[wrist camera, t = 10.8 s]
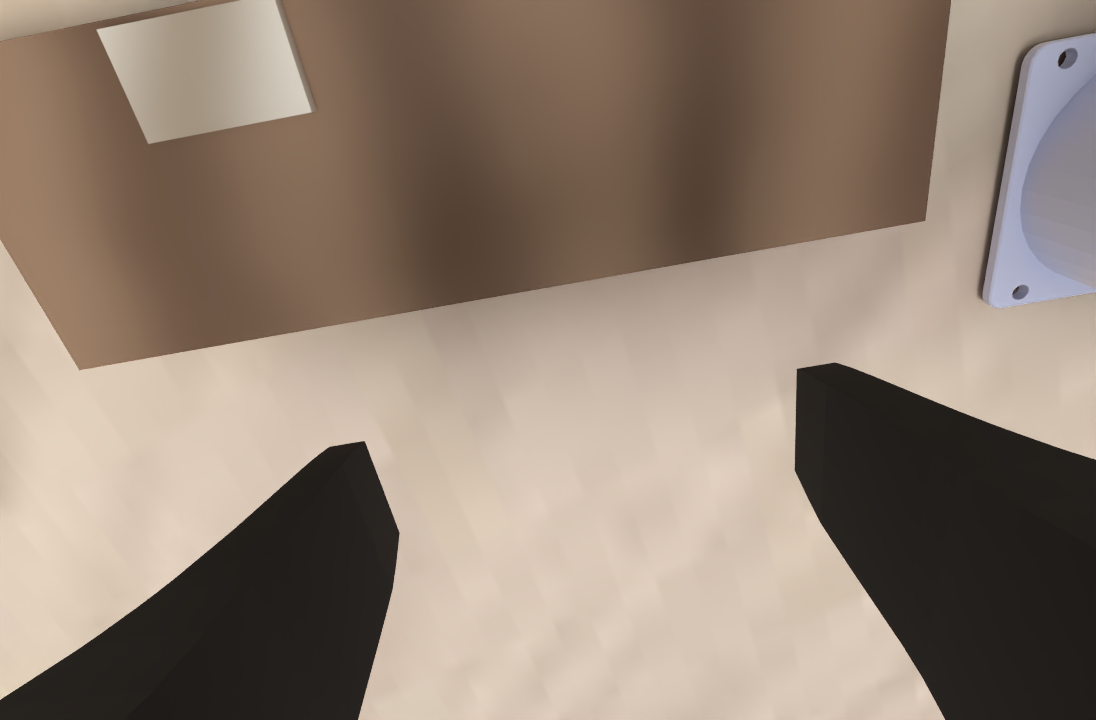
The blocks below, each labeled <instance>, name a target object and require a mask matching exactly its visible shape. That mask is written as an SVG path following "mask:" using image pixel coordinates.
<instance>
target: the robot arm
mask: <svg viewBox="0 0 1096 720" xmlns="http://www.w3.org/2000/svg"><path fill="white" fill-rule="evenodd" d="M1064 50H1065V52H1066V58H1065V60H1064V63H1063V64H1062V65H1061V66H1060V67H1059V66H1058V59H1059V57H1060V55H1061V54H1062V53H1063V51H1064ZM1018 286H1020V288H1019V290H1018V291H1017V292H1016V293H1015V294H1013V295H1012V293H1013V291H1014V289H1016V288H1017V287H1018ZM1095 292H1096V33H1090V34H1085V35H1080V36H1075V37H1069V38H1064V39H1059V40H1053V41H1048V42H1043V43H1040V44H1038V45H1036V46H1034V47H1033V48H1032V49H1031V50H1029V52H1028V53H1027V55H1026V56H1025V57H1024V60H1023V63H1022V66H1021V72H1020V78H1019V84H1018V90H1017V96H1016V101H1015V107H1014V113H1013V119H1012V125H1011V131H1010V136H1009V142H1008V148H1007V154H1006V160H1005V166H1004V171H1003V177H1002V183H1001V189H1000V195H999V200H998V206H997V212H996V218H995V224H994V230H993V235H992V241H991V247H990V253H989V259H988V265H987V270H986V276H985V282H984V288H983V294H982V295H983V300H984V302H985V303H986V304H988V305H990V306H992V307H994V308H1006V307H1012V306H1018V305H1024V304H1030V303H1036V302H1042V301H1048V300H1053V299H1059V298H1065V297H1071V296H1077V295H1083V294H1089V293H1095ZM795 472H796V474H797V476H798V478H799V480H800V482H801V484H802V486H803V488H804V491H805V493H806V495H807V497H808V499H809V501H810V503H811V505H812V507H813V509H814V511H815V513H816V515H817V517H818V519H819V521H820V523H821V524H822V526H823V527H824V529H825V530H826V532H827V533H828V535H829V537H830V538H831V540H832V541H833V543H834V544H835V546H836V547H837V549H838V550H839V552H840V553H841V555H842V556H843V558H844V559H845V561H846V562H847V564H848V565H849V567H850V568H851V570H852V571H853V573H854V574H855V576H856V577H857V579H858V580H859V581H860V583H861V584H862V586H863V587H864V589H865V590H866V592H867V593H868V595H869V596H870V598H871V599H872V601H873V602H874V604H875V605H876V607H877V608H878V610H879V611H880V613H881V614H882V616H883V617H884V619H885V620H886V621H887V623H888V624H889V626H890V627H891V629H892V630H893V632H894V633H895V635H896V636H897V638H898V639H899V641H900V642H901V644H902V645H903V647H904V648H905V650H906V652H907V653H908V655H909V656H910V658H911V660H912V661H913V663H914V665H915V666H916V668H917V669H918V671H919V673H920V674H921V676H922V678H923V679H924V681H925V683H926V685H927V687H928V688H929V690H930V692H931V694H932V696H933V698H934V700H935V701H936V703H937V705H938V707H939V709H940V711H941V712H942V714H943V716H944V718H945V720H1096V460H1095V459H1091V458H1088V457H1085V456H1082V455H1079V454H1076V453H1072V452H1069V451H1066V450H1063V449H1060V448H1057V447H1054V446H1051V445H1048V444H1046V443H1043V442H1040V441H1037V440H1034V439H1032V438H1029V437H1026V436H1023V435H1020V434H1017V433H1015V432H1012V431H1009V430H1006V429H1003V428H1001V427H998V426H995V425H993V424H990V423H987V422H985V421H982V420H980V419H977V418H974V417H972V416H969V415H967V414H964V413H962V412H959V411H957V410H954V409H952V408H949V407H947V406H944V405H942V404H939V403H937V402H934V401H932V400H929V399H927V398H925V397H922V396H920V395H917V394H915V393H912V392H910V391H908V390H905V389H903V388H900V387H898V386H896V385H893V384H891V383H888V382H886V381H884V380H881V379H879V378H876V377H874V376H871V375H869V374H866V373H864V372H861V371H858V370H856V369H853V368H850V367H848V366H844V365H841V364H838V363H830V364H824V365H818V366H812V367H806V368H800V369H797V391H796V438H795ZM398 542H399V530H398V528H397V525H396V523H395V520H394V517H393V515H392V512H391V509H390V507H389V504H388V501H387V499H386V496H385V494H384V491H383V488H382V486H381V483H380V480H379V478H378V475H377V472H376V470H375V467H374V465H373V462H372V459H371V457H370V454H369V451H368V449H367V446H366V443H365V441H362V442H356V443H350V444H344V445H338V446H332V447H329V448H327V449H326V450H325V451H323V452H322V453H321V454H319V455H318V456H317V457H316V458H314V459H313V460H312V461H311V462H310V463H308V464H307V465H306V466H305V467H304V468H303V469H301V470H300V471H299V472H298V473H297V474H296V475H295V476H293V477H292V478H291V479H290V480H289V481H288V482H287V483H286V484H284V485H283V486H282V487H281V488H280V489H279V490H278V491H277V492H276V493H274V494H273V495H272V496H271V497H270V498H269V499H268V500H267V501H265V502H264V503H263V504H262V505H261V506H260V507H259V508H258V509H256V510H255V511H254V512H253V513H252V514H251V515H250V516H249V517H247V518H246V519H245V520H244V521H243V522H242V523H241V524H240V525H238V526H237V527H236V528H235V529H234V530H233V531H232V532H230V533H229V534H228V535H227V536H226V537H224V538H223V539H222V540H221V541H219V542H218V543H217V544H216V545H215V546H213V547H212V548H211V549H210V550H209V551H207V552H206V553H205V554H204V555H203V556H201V557H200V558H199V559H198V560H197V561H195V562H194V563H193V564H192V565H191V566H189V567H188V568H187V569H186V570H185V571H183V572H182V573H181V574H180V575H179V576H177V577H176V578H175V579H174V580H172V581H171V582H170V583H169V584H167V585H166V586H165V587H163V588H162V589H161V590H160V591H158V592H157V593H156V594H154V595H153V596H152V597H150V598H149V599H148V600H147V601H145V602H144V603H143V604H141V605H140V606H139V607H137V608H136V609H134V610H133V611H132V612H130V613H129V614H128V615H126V616H125V617H123V618H122V619H121V620H119V621H118V622H116V623H115V624H114V625H112V626H111V627H109V628H108V629H107V630H105V631H104V632H103V633H101V634H100V635H98V636H97V637H96V638H94V639H93V640H91V641H90V642H88V643H87V644H85V645H84V646H83V647H81V648H80V649H78V650H77V651H75V652H74V653H72V654H70V655H69V656H67V657H66V658H64V659H63V660H61V661H60V662H58V663H57V664H55V665H53V666H52V667H50V668H49V669H47V670H46V671H44V672H43V673H41V674H40V675H38V676H36V677H35V678H33V679H32V680H30V681H29V682H27V683H26V684H24V685H23V686H21V687H19V688H18V689H16V690H15V691H13V692H12V693H10V694H9V695H7V696H6V697H4V698H2V699H1V700H0V720H358V717H359V714H360V710H361V706H362V703H363V699H364V695H365V691H366V688H367V684H368V680H369V677H370V673H371V669H372V665H373V662H374V658H375V654H376V651H377V647H378V643H379V639H380V636H381V632H382V628H383V624H384V620H385V617H386V613H387V609H388V605H389V601H390V597H391V593H392V589H393V582H394V575H395V568H396V560H397V551H398Z"/></svg>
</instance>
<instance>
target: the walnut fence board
mask: <svg viewBox="0 0 1096 720" xmlns="http://www.w3.org/2000/svg"><path fill="white" fill-rule="evenodd" d="M950 6H951V0H201V1H196V2H191V3H186V4H181V5H176V6H171V7H166V8H162V9H157V10H152V11H147V12H142V13H137V14H132V15H127V16H122V17H118V18H113V19H108V20H103V21H98V22H93V23H88V24H83V25H78V26H73V27H69V28H64V29H59V30H54V31H49V32H44V33H39V34H34V35H29V36H25V37H20V38H15V39H10V40H5V41H0V239H1V241H2V243H3V244H4V246H5V248H6V249H7V251H8V253H9V254H10V256H11V258H12V259H13V261H14V263H15V264H16V266H17V268H18V269H19V271H20V273H21V274H22V276H23V277H24V279H25V281H26V282H27V284H28V286H29V287H30V289H31V291H32V292H33V294H34V296H35V297H36V299H37V301H38V302H39V304H40V306H41V307H42V309H43V311H44V312H45V314H46V316H47V317H48V319H49V321H50V322H51V324H52V325H53V327H54V329H55V330H56V332H57V334H58V335H59V337H60V339H61V340H62V342H63V344H64V345H65V347H66V349H67V350H68V352H69V354H70V355H71V357H72V359H73V360H74V362H75V364H76V365H77V367H78V368H79V370H82V369H88V368H94V367H99V366H105V365H111V364H116V363H122V362H128V361H133V360H139V359H145V358H150V357H156V356H162V355H167V354H173V353H179V352H184V351H190V350H196V349H201V348H207V347H213V346H218V345H224V344H230V343H235V342H241V341H247V340H252V339H258V338H264V337H269V336H275V335H281V334H286V333H292V332H298V331H303V330H309V329H315V328H320V327H326V326H332V325H337V324H343V323H349V322H354V321H360V320H366V319H371V318H377V317H383V316H388V315H394V314H400V313H405V312H411V311H417V310H422V309H428V308H434V307H439V306H445V305H451V304H456V303H462V302H468V301H473V300H479V299H485V298H490V297H496V296H502V295H507V294H513V293H519V292H524V291H530V290H536V289H541V288H547V287H553V286H558V285H564V284H570V283H575V282H581V281H587V280H592V279H598V278H604V277H609V276H615V275H621V274H626V273H632V272H638V271H643V270H649V269H655V268H660V267H666V266H672V265H677V264H683V263H689V262H694V261H700V260H706V259H711V258H717V257H723V256H728V255H734V254H740V253H745V252H751V251H757V250H762V249H768V248H774V247H779V246H785V245H791V244H796V243H802V242H808V241H813V240H819V239H825V238H830V237H836V236H842V235H847V234H853V233H859V232H864V231H870V230H876V229H881V228H887V227H893V226H898V225H904V224H910V223H915V222H921V221H925V218H926V210H927V201H928V193H929V184H930V176H931V167H932V159H933V150H934V142H935V133H936V125H937V116H938V108H939V99H940V91H941V82H942V74H943V65H944V57H945V48H946V40H947V31H948V23H949V14H950Z"/></svg>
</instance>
